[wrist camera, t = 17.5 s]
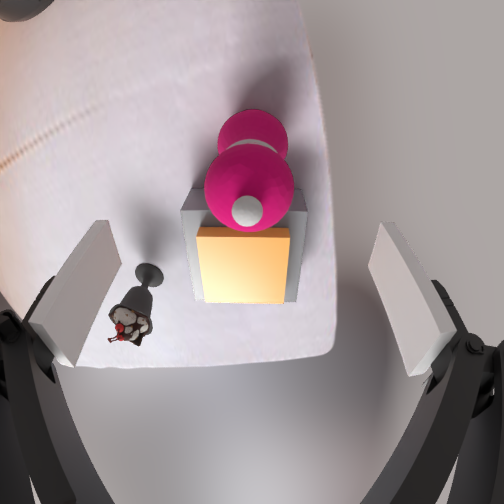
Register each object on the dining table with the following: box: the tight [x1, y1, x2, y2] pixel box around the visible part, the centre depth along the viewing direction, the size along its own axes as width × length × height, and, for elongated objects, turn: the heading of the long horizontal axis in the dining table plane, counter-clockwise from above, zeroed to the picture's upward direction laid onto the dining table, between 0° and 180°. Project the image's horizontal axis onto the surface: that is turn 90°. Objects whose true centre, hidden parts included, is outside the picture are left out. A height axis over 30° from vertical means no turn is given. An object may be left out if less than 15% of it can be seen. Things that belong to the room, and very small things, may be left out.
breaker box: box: [180, 188, 308, 302], centre depth 38 cm, size 14×14×6 cm
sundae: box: [108, 264, 163, 346], centre depth 39 cm, size 7×7×15 cm
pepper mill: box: [204, 109, 294, 232], centre depth 24 cm, size 7×7×20 cm
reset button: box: [196, 227, 290, 304], centre depth 36 cm, size 10×10×7 cm
